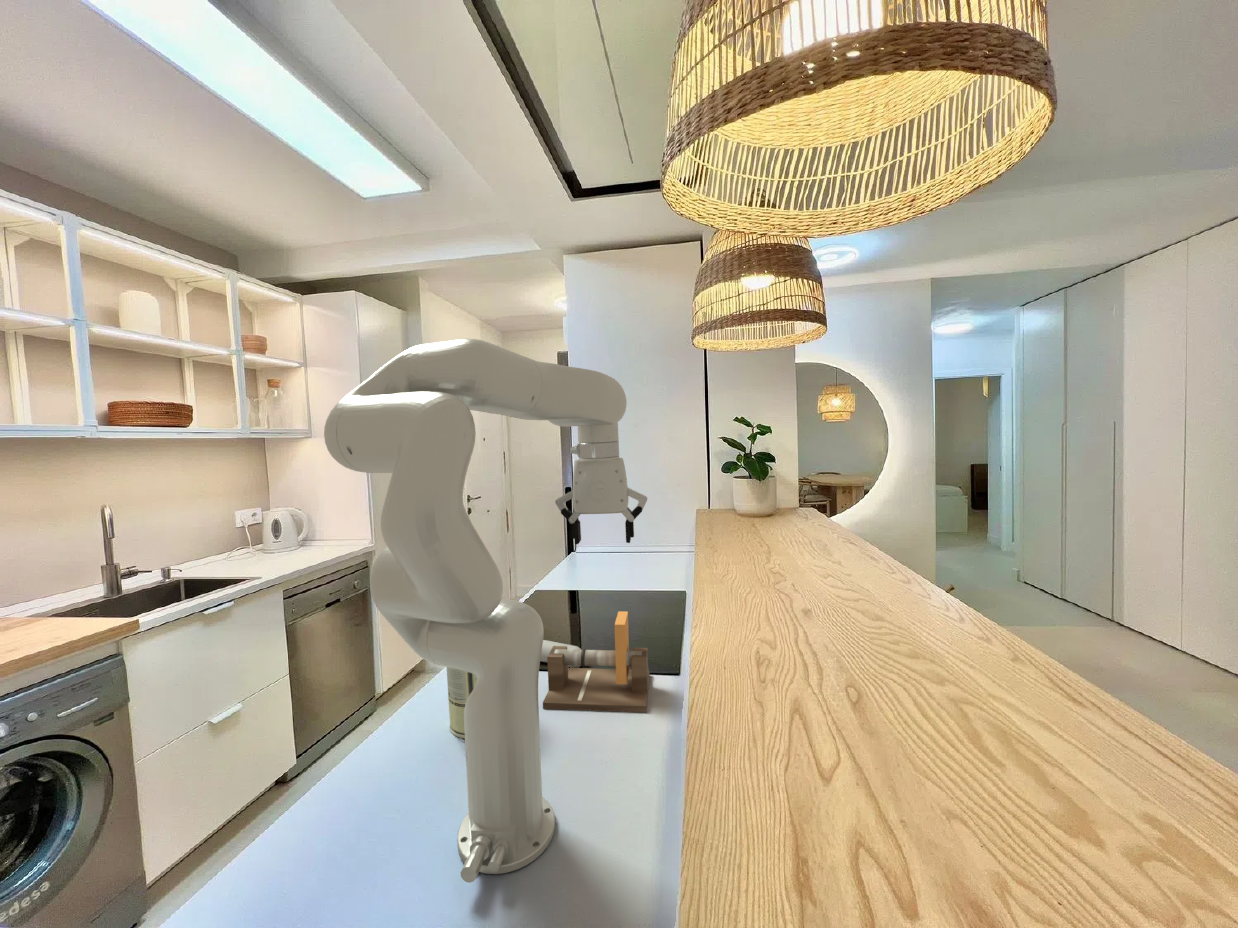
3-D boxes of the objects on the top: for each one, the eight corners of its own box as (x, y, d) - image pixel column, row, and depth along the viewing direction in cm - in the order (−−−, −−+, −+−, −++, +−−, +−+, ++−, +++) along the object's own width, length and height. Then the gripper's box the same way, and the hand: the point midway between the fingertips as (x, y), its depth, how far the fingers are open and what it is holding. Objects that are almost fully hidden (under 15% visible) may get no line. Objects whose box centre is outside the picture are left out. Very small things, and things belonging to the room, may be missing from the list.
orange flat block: (626, 684, 95) (624, 624, 94) (616, 683, 95) (614, 624, 94) (629, 666, 102) (627, 611, 101) (620, 666, 102) (618, 611, 101)
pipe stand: (646, 712, 91) (645, 668, 91) (542, 708, 93) (541, 665, 93) (649, 675, 105) (648, 636, 105) (559, 672, 107) (558, 635, 107)
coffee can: (475, 701, 97) (472, 633, 96) (517, 713, 92) (514, 641, 91) (436, 731, 87) (432, 655, 86) (481, 745, 83) (477, 665, 82)
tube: (589, 645, 112) (502, 628, 123) (578, 647, 108) (489, 629, 118) (586, 669, 111) (499, 650, 122) (575, 672, 106) (485, 652, 117)
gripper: (548, 455, 87) (554, 548, 88) (645, 451, 85) (648, 546, 87) (557, 452, 94) (561, 537, 96) (645, 448, 93) (649, 535, 94)
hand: (603, 541), depth 91 cm, fingers open, 9 cm apart
